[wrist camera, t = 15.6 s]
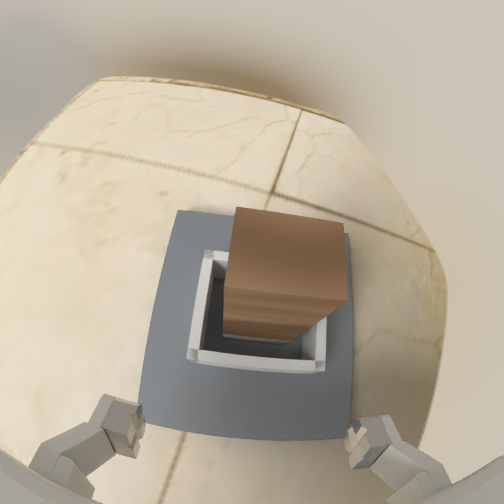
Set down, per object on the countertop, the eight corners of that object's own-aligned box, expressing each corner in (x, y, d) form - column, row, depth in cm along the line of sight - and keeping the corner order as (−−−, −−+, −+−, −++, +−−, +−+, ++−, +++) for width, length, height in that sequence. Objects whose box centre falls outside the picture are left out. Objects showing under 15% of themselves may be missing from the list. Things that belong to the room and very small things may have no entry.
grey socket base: (341, 435, 15) (368, 444, 12) (140, 418, 15) (120, 425, 11) (343, 239, 23) (362, 213, 19) (179, 216, 22) (173, 185, 19)
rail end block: (283, 345, 17) (347, 300, 8) (222, 339, 17) (223, 286, 8) (286, 302, 19) (343, 223, 10) (228, 295, 19) (236, 206, 10)
